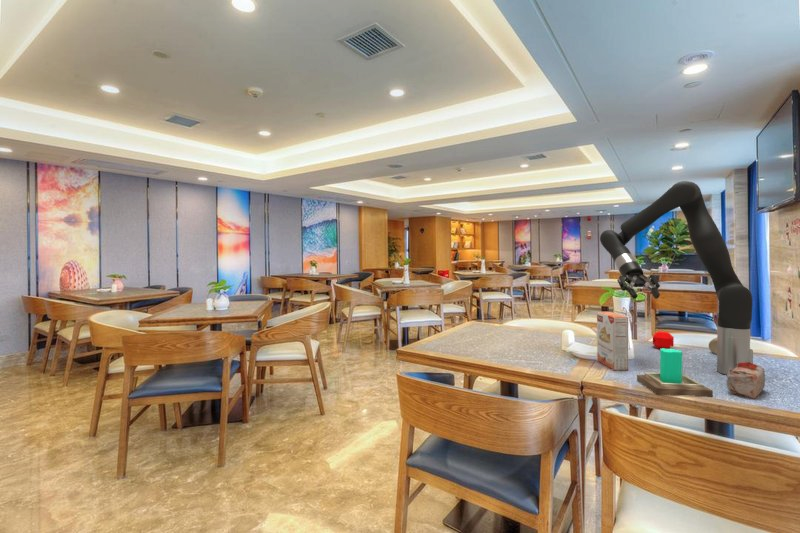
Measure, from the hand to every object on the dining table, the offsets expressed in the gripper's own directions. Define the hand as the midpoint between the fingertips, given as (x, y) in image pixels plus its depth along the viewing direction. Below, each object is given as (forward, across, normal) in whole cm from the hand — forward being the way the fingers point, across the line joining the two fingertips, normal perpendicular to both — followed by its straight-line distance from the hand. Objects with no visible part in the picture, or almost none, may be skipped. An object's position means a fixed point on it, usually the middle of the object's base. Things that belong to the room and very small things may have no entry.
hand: (646, 297), depth 149 cm
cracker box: (+16, -10, +24) cm, 30 cm away
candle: (+33, -6, +4) cm, 34 cm away
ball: (-2, +29, +42) cm, 51 cm away
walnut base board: (+34, -6, +5) cm, 35 cm away
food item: (+38, +15, +2) cm, 41 cm away
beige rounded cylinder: (+6, +48, +34) cm, 59 cm away
